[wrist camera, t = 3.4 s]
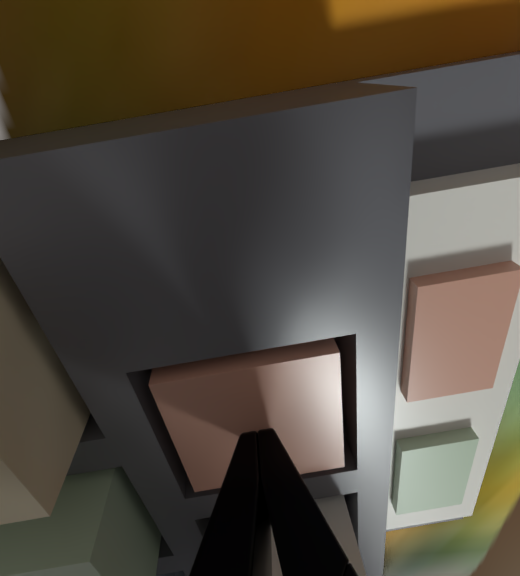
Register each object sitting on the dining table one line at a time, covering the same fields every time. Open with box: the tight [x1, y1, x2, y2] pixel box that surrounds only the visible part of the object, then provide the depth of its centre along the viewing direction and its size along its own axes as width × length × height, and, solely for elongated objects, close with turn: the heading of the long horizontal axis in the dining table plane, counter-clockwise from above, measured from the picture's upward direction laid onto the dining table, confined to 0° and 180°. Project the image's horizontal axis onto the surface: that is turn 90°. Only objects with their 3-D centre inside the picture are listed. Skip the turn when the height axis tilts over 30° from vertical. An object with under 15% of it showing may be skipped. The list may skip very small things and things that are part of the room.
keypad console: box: [0, 51, 520, 576], centre depth 13 cm, size 19×21×4 cm
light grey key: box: [271, 495, 366, 576], centre depth 12 cm, size 4×4×3 cm
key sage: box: [0, 466, 161, 576], centre depth 11 cm, size 4×4×3 cm
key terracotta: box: [148, 338, 345, 492], centre depth 11 cm, size 4×4×3 cm
